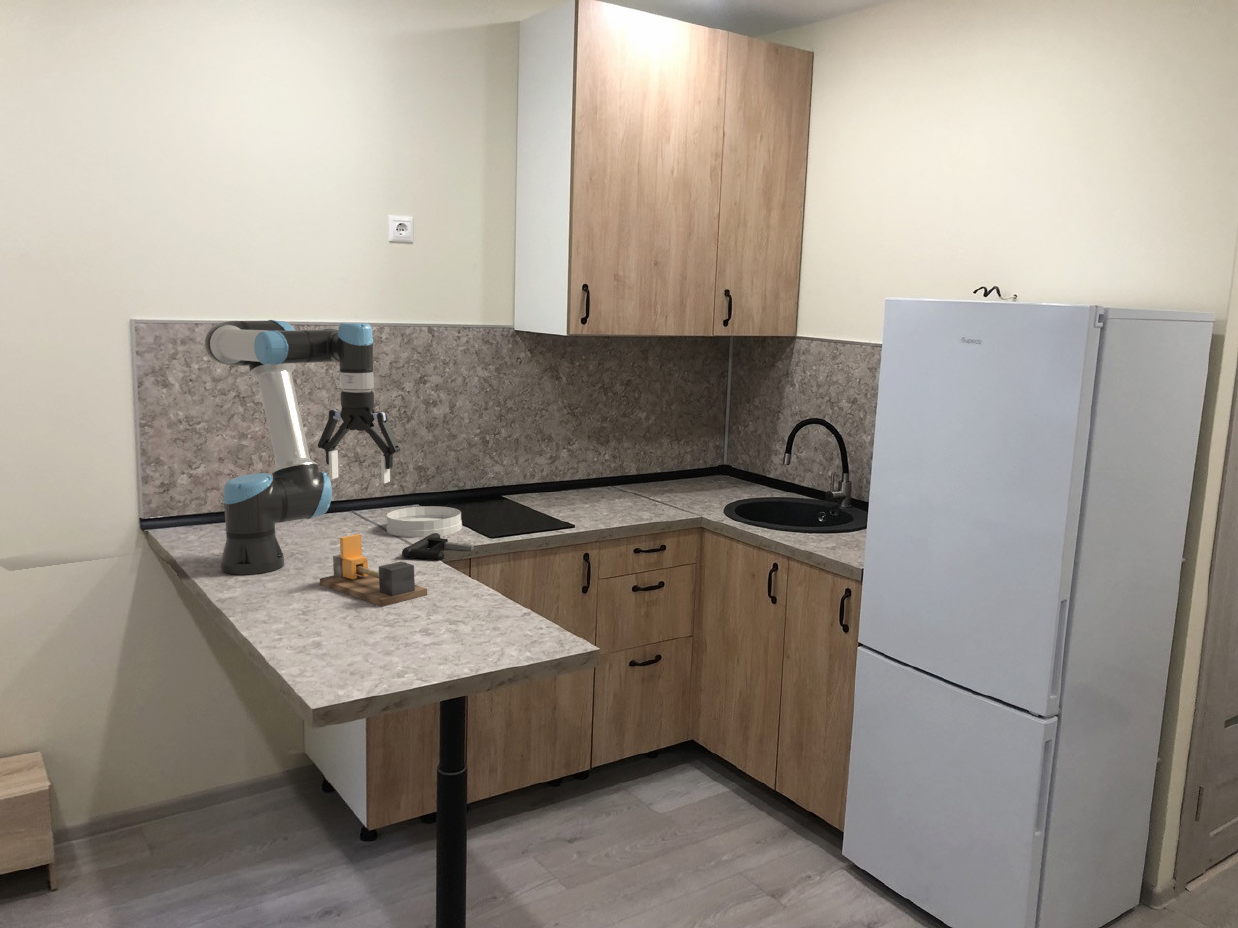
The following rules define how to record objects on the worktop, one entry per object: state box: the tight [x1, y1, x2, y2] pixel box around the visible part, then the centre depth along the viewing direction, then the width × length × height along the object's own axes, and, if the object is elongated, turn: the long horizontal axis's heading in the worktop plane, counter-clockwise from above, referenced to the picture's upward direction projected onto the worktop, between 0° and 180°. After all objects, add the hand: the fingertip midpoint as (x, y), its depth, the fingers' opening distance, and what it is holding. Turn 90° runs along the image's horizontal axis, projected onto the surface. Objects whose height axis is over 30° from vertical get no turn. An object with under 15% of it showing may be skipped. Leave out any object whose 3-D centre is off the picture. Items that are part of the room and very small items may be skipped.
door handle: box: [401, 533, 475, 562], centre depth 264 cm, size 3×20×16 cm
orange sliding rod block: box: [339, 533, 369, 579], centre depth 232 cm, size 4×5×10 cm
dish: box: [385, 505, 463, 538], centre depth 292 cm, size 22×22×5 cm
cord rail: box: [319, 553, 428, 607], centre depth 228 cm, size 26×12×8 cm, turn 47°
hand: (359, 480), depth 230 cm, fingers open, 13 cm apart
